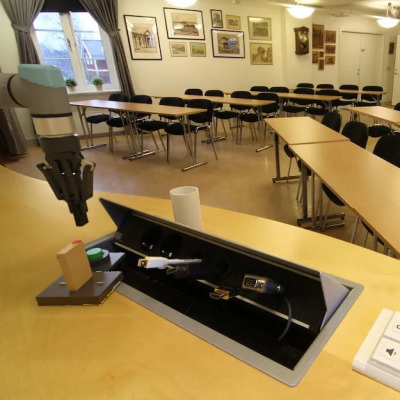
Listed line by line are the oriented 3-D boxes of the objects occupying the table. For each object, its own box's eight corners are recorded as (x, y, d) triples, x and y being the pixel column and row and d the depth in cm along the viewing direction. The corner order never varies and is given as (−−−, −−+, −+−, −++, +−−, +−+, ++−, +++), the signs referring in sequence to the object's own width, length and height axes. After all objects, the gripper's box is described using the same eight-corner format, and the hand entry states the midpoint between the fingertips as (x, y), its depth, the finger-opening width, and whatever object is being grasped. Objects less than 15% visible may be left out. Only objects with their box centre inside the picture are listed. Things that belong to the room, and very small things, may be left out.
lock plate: (38, 306, 73) (34, 296, 72) (68, 279, 82) (66, 271, 82) (100, 305, 74) (98, 295, 73) (124, 279, 83) (122, 270, 82)
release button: (84, 260, 86) (82, 254, 86) (92, 253, 90) (91, 247, 89) (97, 260, 87) (96, 254, 86) (105, 253, 90) (104, 247, 89)
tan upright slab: (76, 291, 74) (64, 252, 71) (68, 291, 74) (55, 252, 71) (93, 275, 80) (82, 239, 76) (85, 275, 80) (74, 239, 76)
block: (65, 274, 85) (62, 264, 84) (87, 256, 93) (85, 247, 92) (108, 274, 85) (105, 264, 84) (126, 256, 93) (124, 247, 92)
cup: (176, 243, 101) (167, 196, 95) (179, 232, 108) (171, 187, 102) (203, 240, 103) (197, 193, 97) (204, 229, 110) (198, 185, 105)
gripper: (96, 132, 80) (115, 218, 88) (42, 131, 79) (67, 218, 88) (75, 138, 73) (99, 231, 81) (16, 137, 72) (46, 230, 81)
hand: (82, 224), depth 84 cm, fingers closed
